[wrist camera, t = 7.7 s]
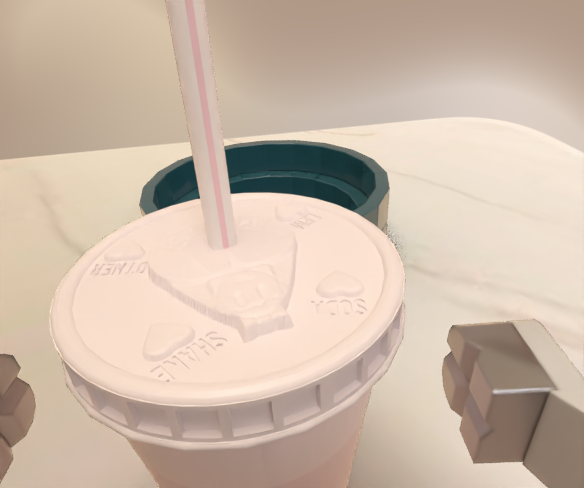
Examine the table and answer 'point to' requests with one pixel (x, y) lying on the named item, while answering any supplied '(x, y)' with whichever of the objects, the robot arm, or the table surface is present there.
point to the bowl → (284, 177)
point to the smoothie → (231, 319)
